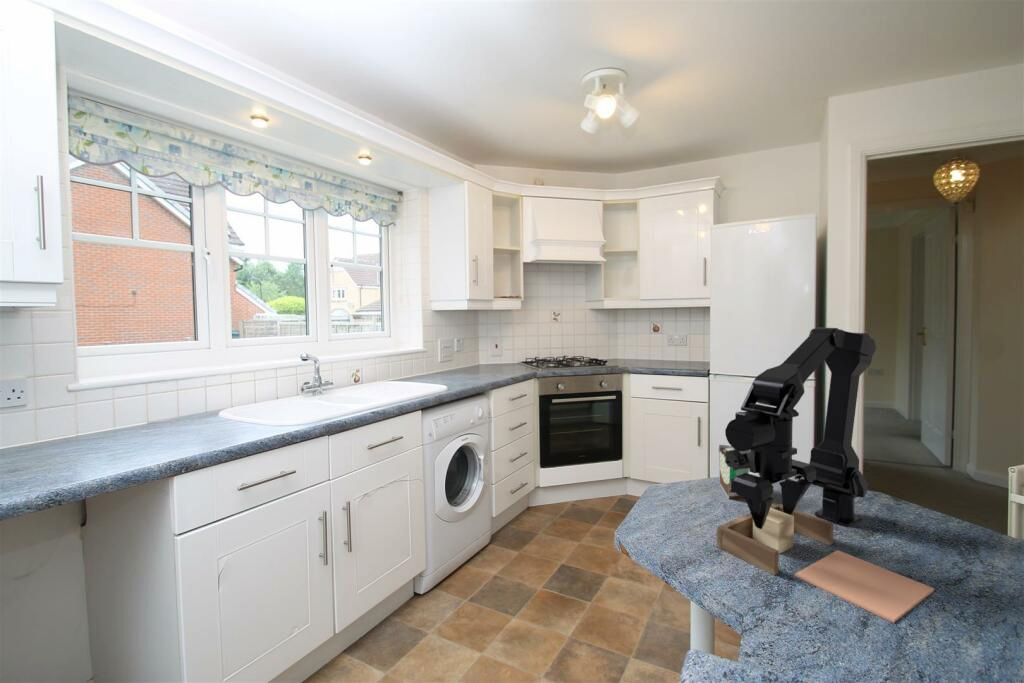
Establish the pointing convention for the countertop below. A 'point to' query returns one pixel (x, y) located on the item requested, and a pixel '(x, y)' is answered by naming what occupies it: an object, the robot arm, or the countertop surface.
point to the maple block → (776, 531)
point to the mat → (865, 585)
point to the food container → (728, 472)
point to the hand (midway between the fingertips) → (773, 521)
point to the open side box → (760, 555)
